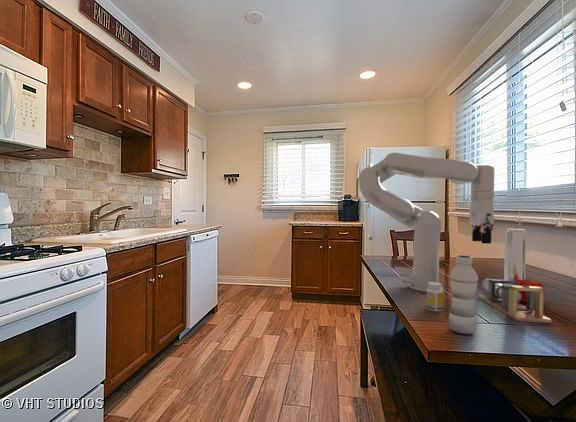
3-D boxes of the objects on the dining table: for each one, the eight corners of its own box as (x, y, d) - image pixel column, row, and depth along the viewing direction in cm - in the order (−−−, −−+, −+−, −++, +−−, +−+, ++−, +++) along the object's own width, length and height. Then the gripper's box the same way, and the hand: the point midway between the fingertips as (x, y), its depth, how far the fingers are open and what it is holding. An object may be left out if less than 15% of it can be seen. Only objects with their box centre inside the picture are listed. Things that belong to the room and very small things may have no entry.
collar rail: (517, 321, 89) (518, 288, 88) (478, 297, 111) (479, 272, 111) (551, 323, 87) (552, 290, 87) (505, 299, 110) (505, 273, 110)
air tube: (505, 303, 98) (505, 289, 98) (480, 290, 114) (481, 277, 114) (521, 304, 98) (521, 289, 97) (494, 290, 113) (494, 278, 113)
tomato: (506, 297, 112) (507, 277, 112) (531, 298, 112) (531, 277, 112) (525, 305, 103) (526, 283, 103) (552, 306, 103) (553, 284, 102)
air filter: (517, 290, 122) (519, 228, 122) (528, 295, 115) (530, 229, 115) (500, 290, 123) (501, 227, 122) (510, 294, 116) (511, 229, 116)
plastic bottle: (442, 327, 83) (444, 254, 83) (466, 327, 84) (467, 254, 83) (458, 337, 77) (459, 258, 76) (483, 337, 77) (484, 258, 77)
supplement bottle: (441, 308, 100) (442, 282, 100) (444, 312, 95) (444, 285, 95) (425, 306, 101) (426, 281, 101) (427, 310, 97) (427, 284, 97)
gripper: (462, 197, 128) (461, 239, 128) (483, 195, 111) (482, 244, 111) (481, 197, 127) (480, 240, 127) (505, 195, 110) (504, 245, 110)
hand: (481, 241), depth 119 cm, fingers open, 6 cm apart
